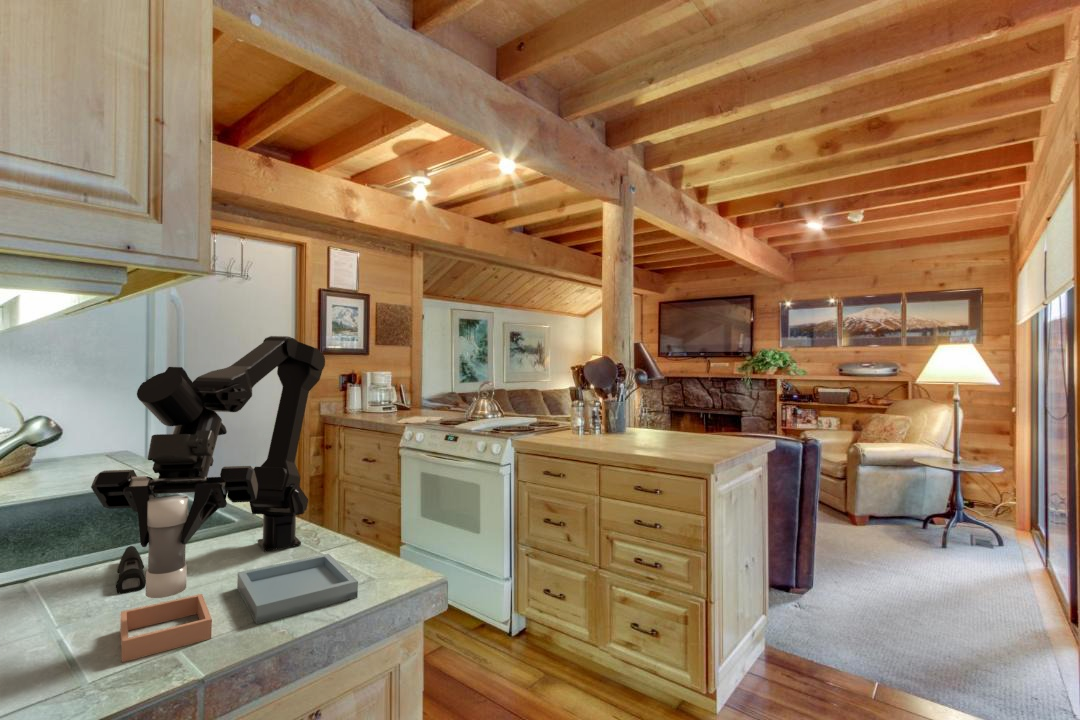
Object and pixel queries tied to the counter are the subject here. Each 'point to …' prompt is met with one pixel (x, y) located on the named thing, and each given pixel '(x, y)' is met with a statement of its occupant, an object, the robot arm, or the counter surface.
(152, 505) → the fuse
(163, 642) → the socket ring
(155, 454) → the robot arm
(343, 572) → the parts tray
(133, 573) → the electric trimmer
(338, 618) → the counter surface
